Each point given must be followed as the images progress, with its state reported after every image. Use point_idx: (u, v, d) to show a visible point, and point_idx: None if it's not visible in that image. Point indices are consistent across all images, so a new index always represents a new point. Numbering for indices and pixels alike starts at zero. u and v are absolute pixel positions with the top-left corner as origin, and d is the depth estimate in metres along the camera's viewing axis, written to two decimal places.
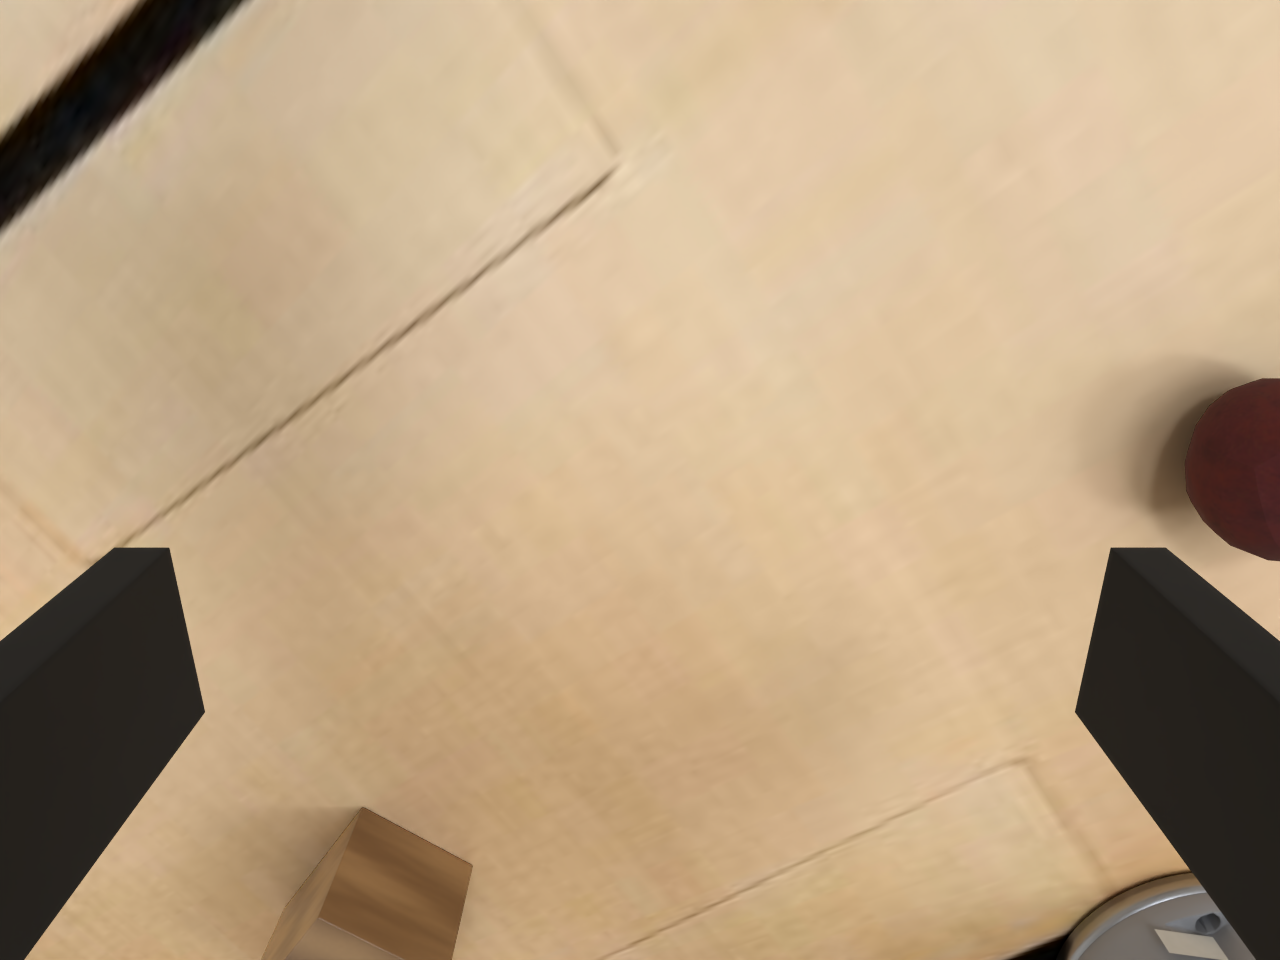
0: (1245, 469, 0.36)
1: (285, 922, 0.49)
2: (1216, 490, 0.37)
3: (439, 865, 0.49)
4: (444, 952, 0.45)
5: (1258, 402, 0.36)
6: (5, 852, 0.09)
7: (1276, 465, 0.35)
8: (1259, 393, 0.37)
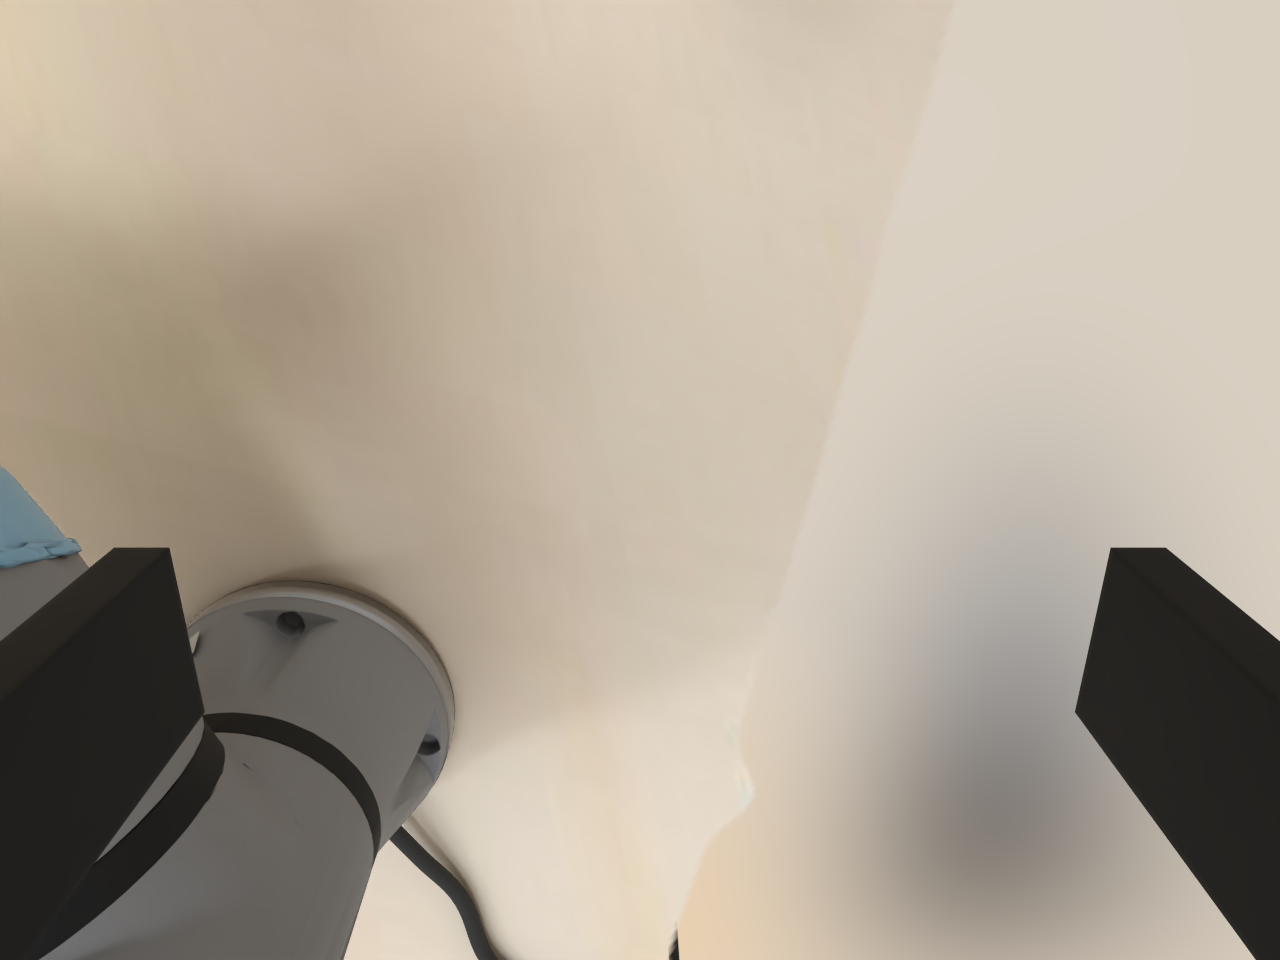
0: None
1: None
2: None
3: None
4: None
5: None
6: (5, 852, 0.09)
7: None
8: None
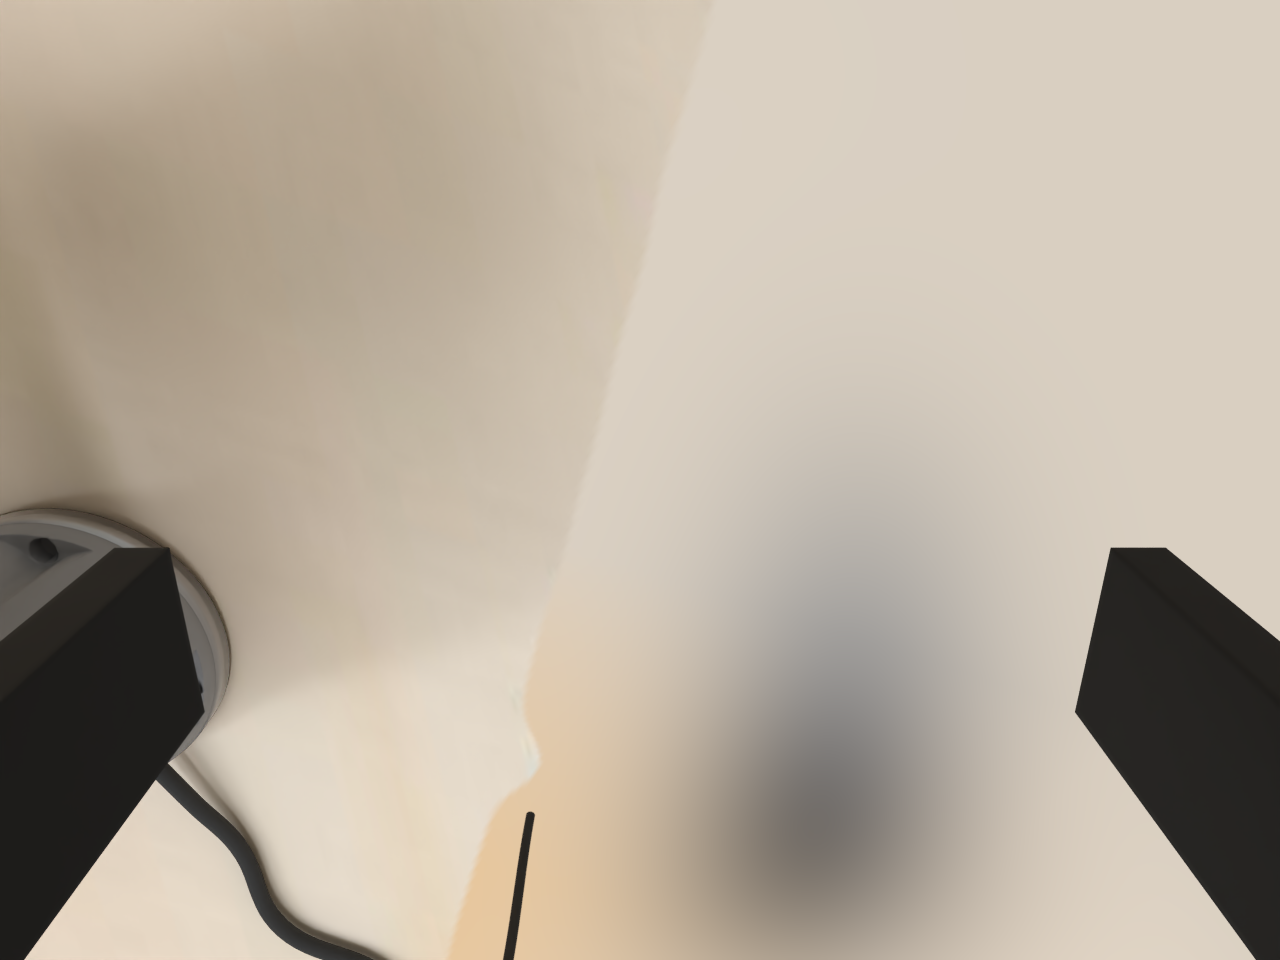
0: None
1: None
2: None
3: None
4: None
5: None
6: (5, 852, 0.09)
7: None
8: None
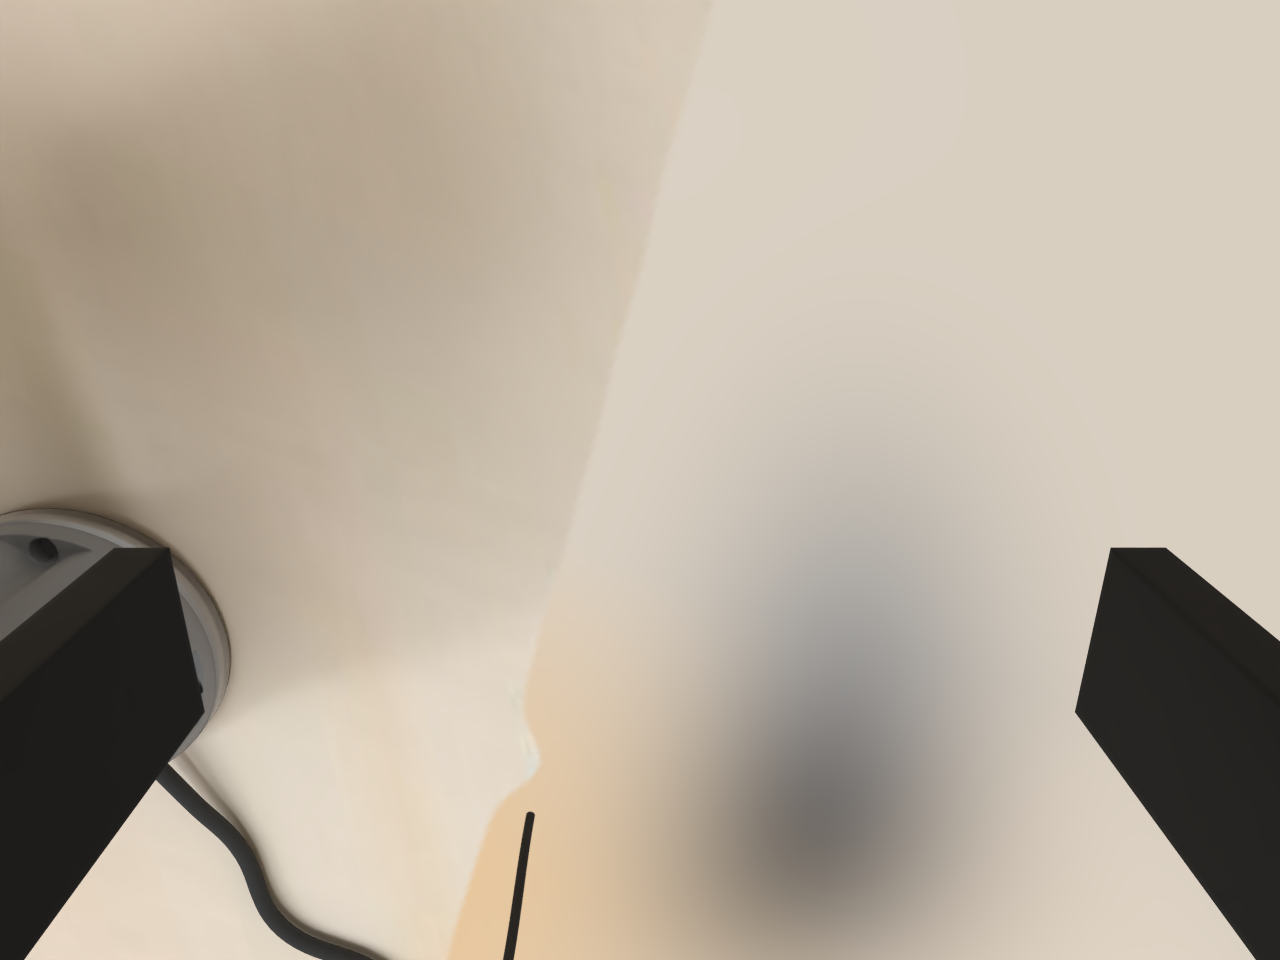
0: None
1: None
2: None
3: None
4: None
5: None
6: (5, 852, 0.09)
7: None
8: None
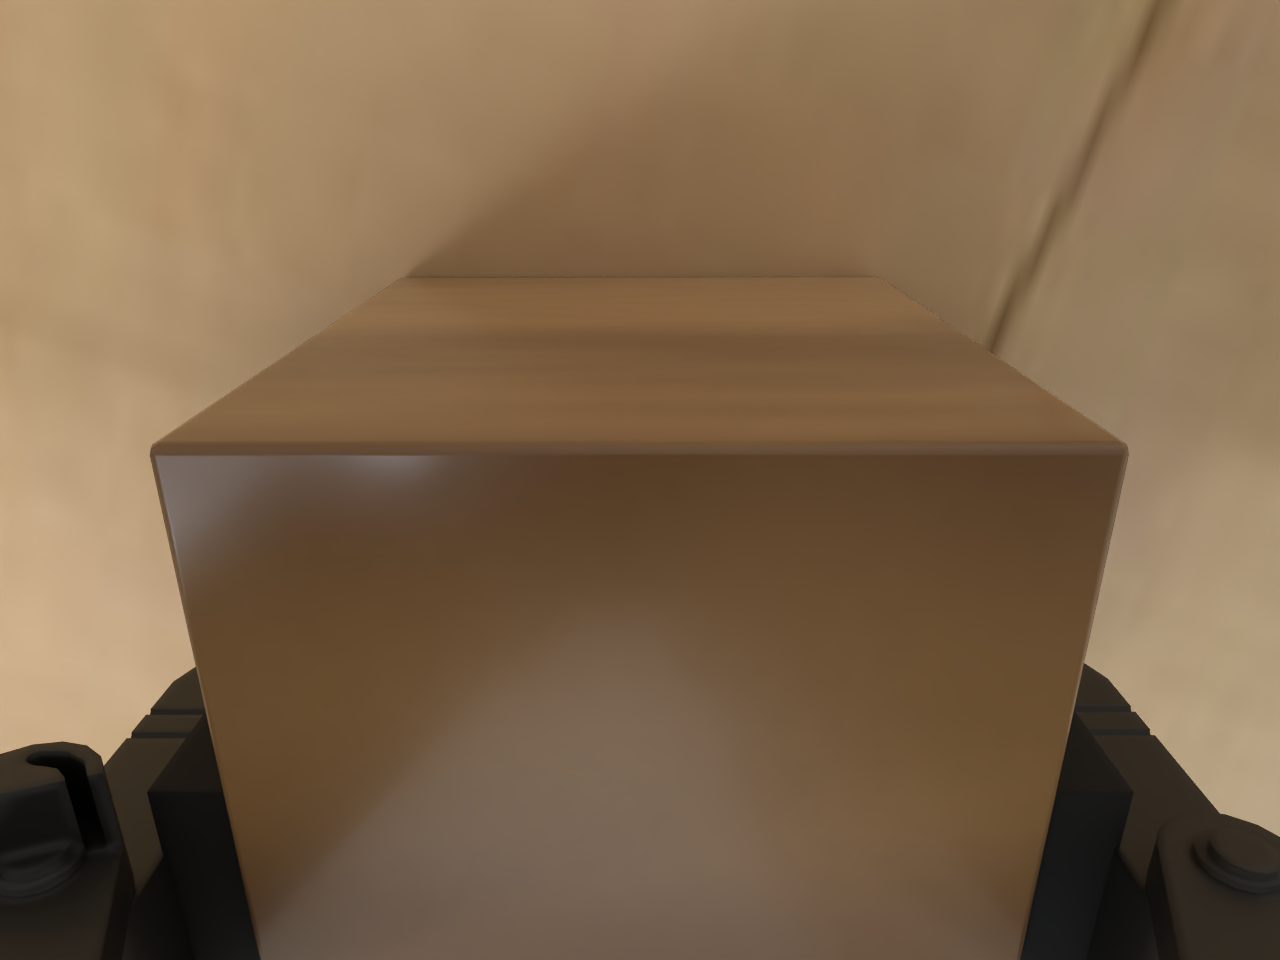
0: None
1: None
2: None
3: None
4: None
5: None
6: None
7: None
8: None
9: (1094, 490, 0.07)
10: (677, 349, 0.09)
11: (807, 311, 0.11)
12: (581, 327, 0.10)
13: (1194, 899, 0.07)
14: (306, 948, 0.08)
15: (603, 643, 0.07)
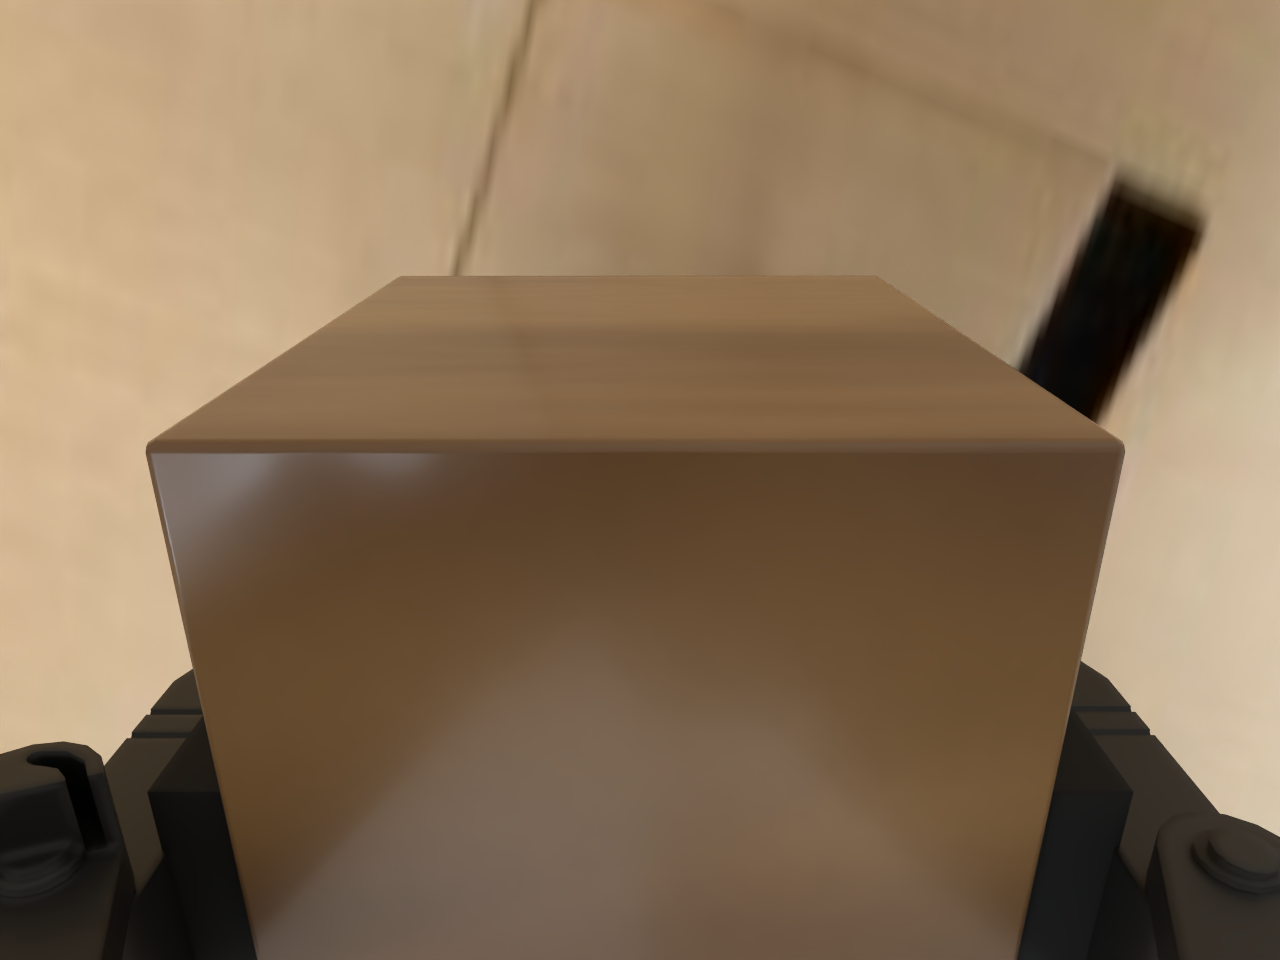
0: None
1: None
2: None
3: None
4: None
5: None
6: None
7: None
8: None
9: (1091, 488, 0.07)
10: (674, 347, 0.09)
11: (805, 309, 0.11)
12: (578, 325, 0.10)
13: (1194, 899, 0.07)
14: (303, 946, 0.08)
15: (599, 641, 0.07)
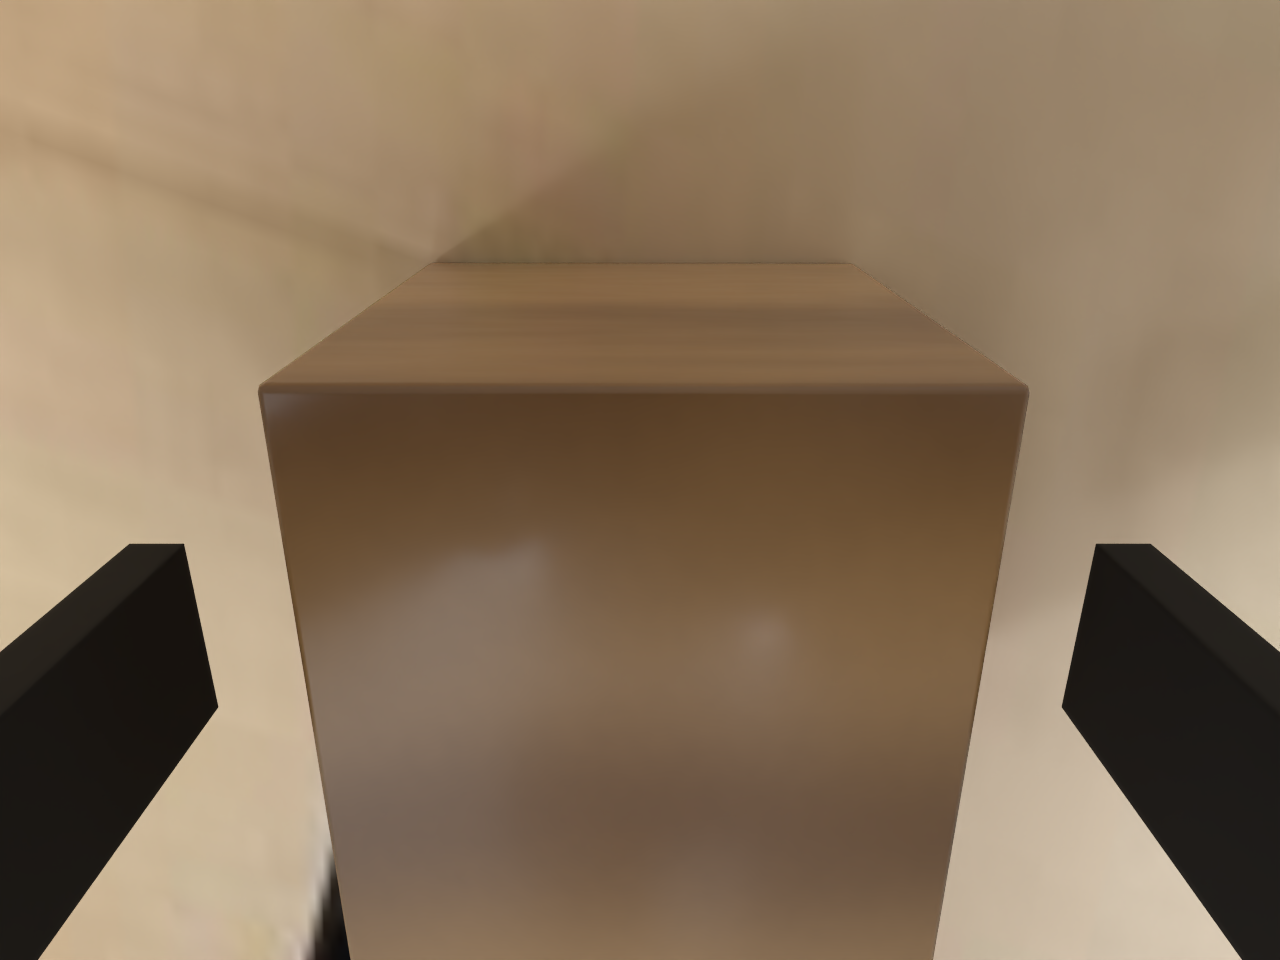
0: None
1: None
2: None
3: None
4: None
5: None
6: (27, 843, 0.09)
7: None
8: None
9: (1002, 423, 0.08)
10: (674, 319, 0.11)
11: (786, 290, 0.13)
12: (592, 302, 0.12)
13: None
14: (367, 811, 0.10)
15: (614, 548, 0.09)
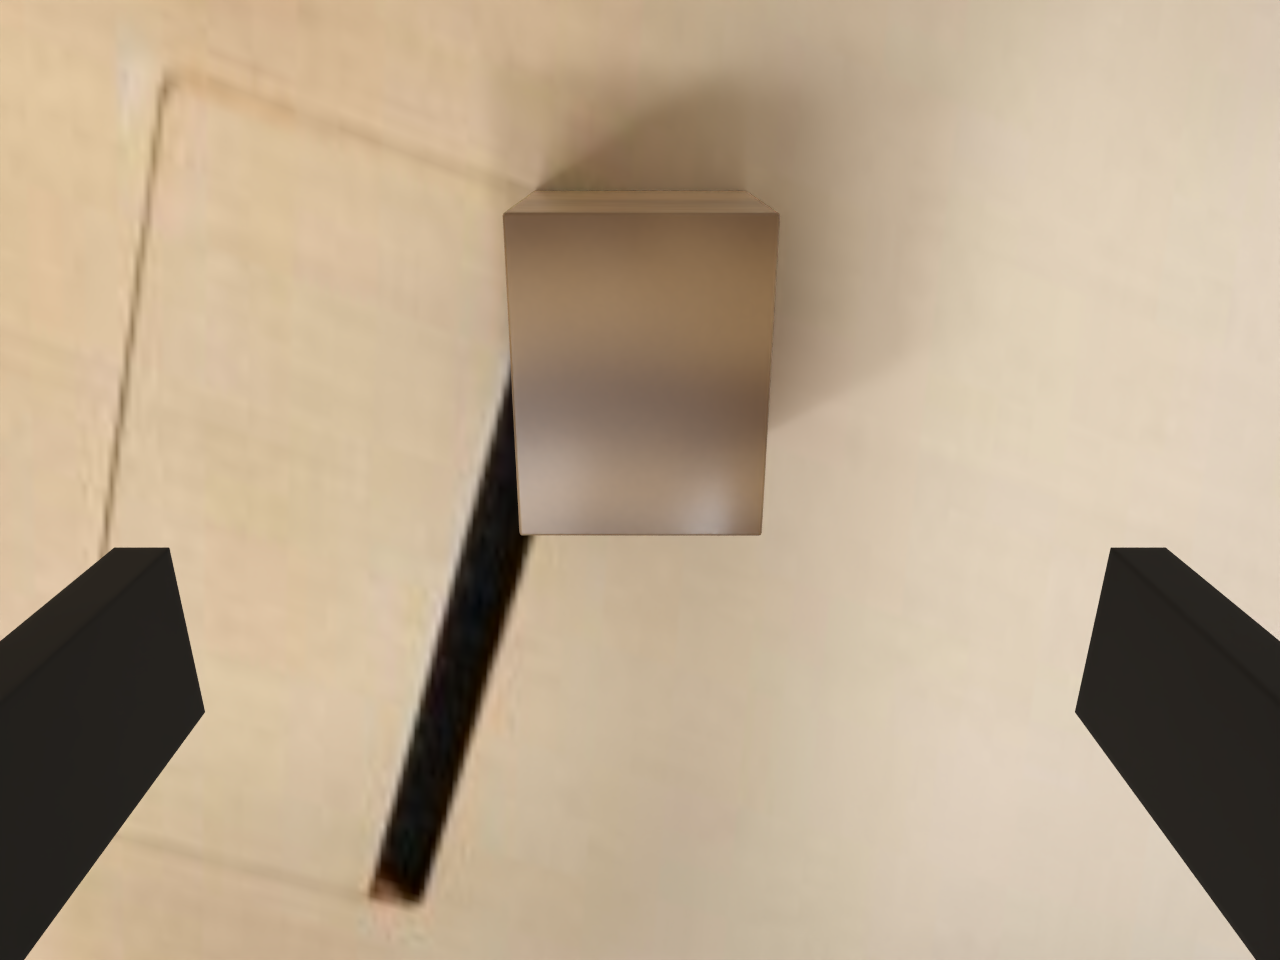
0: None
1: None
2: None
3: None
4: None
5: None
6: (5, 852, 0.09)
7: None
8: None
9: (770, 227, 0.23)
10: (654, 202, 0.26)
11: (707, 197, 0.27)
12: (618, 199, 0.27)
13: None
14: (529, 397, 0.25)
15: (630, 278, 0.24)
